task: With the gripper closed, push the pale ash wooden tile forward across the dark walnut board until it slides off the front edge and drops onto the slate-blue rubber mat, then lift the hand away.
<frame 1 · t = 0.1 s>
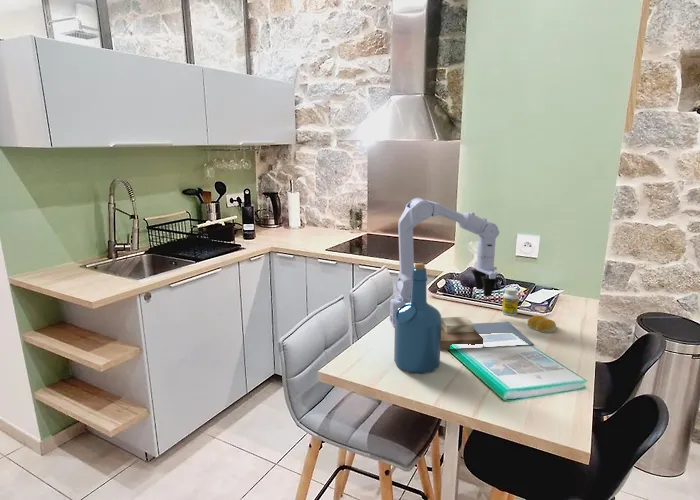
hand: (483, 292, 160), 10 cm above the table, tool pointing down, fingers open, 7 cm apart
tile: (456, 328, 147), point 3 cm above the table, touching board
bread roll: (541, 328, 154), on the table
wine bottle: (416, 364, 129), on the table
mat: (497, 334, 149), on the table
board: (451, 336, 147), on the table
supplement bottle: (509, 313, 167), on the table
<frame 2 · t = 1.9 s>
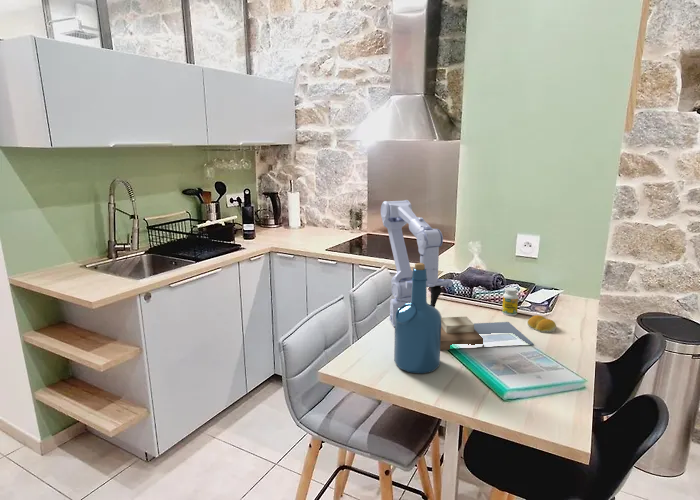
hand: (428, 308, 144), 10 cm above the table, tool pointing down, fingers closed
nothing on the table moved.
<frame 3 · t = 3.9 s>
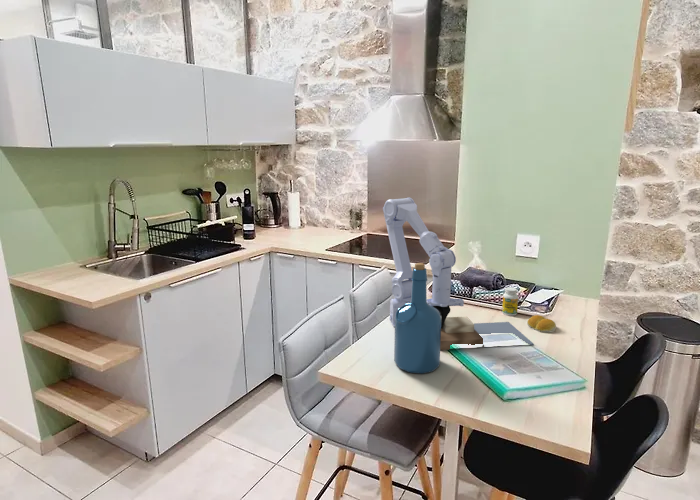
hand: (439, 327, 146), 4 cm above the table, tool pointing down, fingers closed
tile: (456, 328, 147), point 3 cm above the table, touching board, gripper
everything else where it was.
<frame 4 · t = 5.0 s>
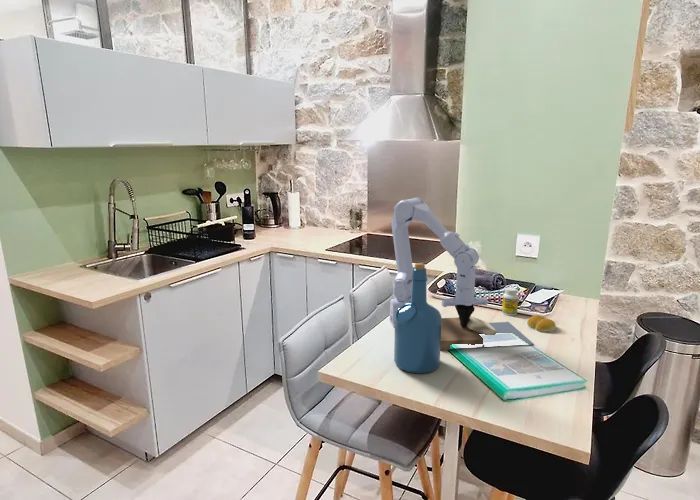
hand: (463, 326, 147), 4 cm above the table, tool pointing down, fingers closed
tile: (477, 328, 148), point 2 cm above the table, tilted 23°, touching gripper
everything else where it was.
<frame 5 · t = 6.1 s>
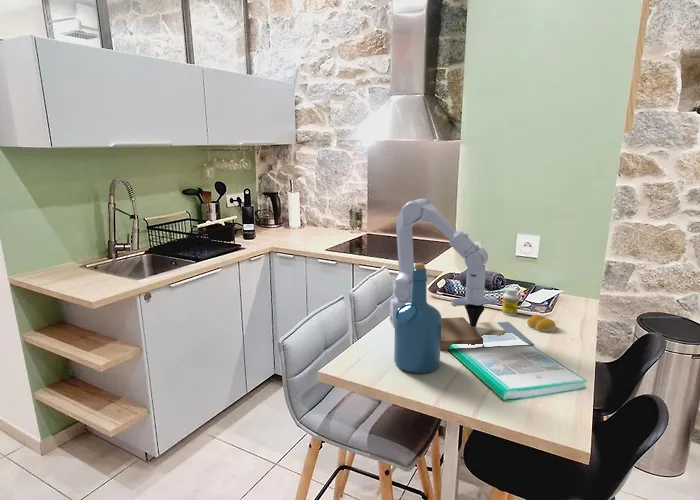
hand: (472, 325, 147), 4 cm above the table, tool pointing down, fingers closed
tile: (486, 333, 149), resting on mat
everything else where it was.
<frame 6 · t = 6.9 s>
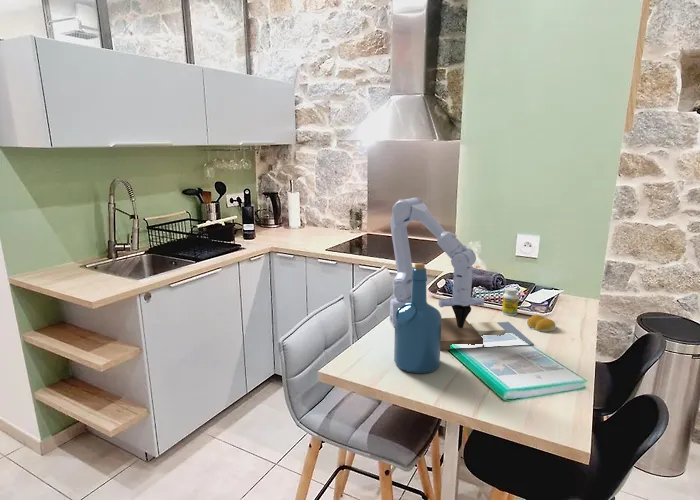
hand: (460, 326, 147), 4 cm above the table, tool pointing down, fingers closed
nothing on the table moved.
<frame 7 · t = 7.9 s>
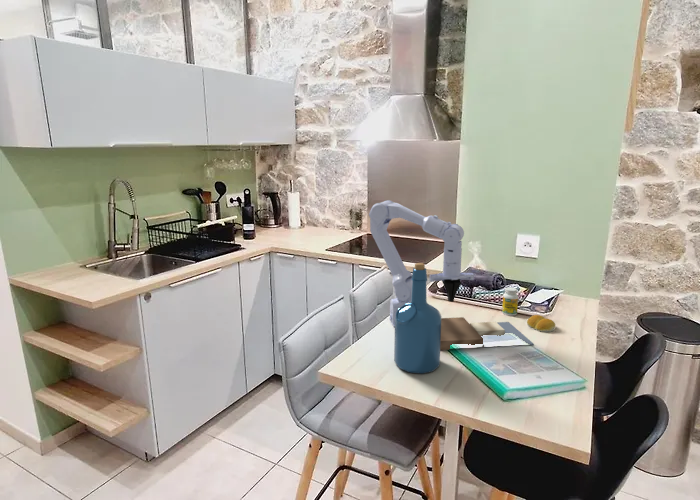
hand: (450, 300, 151), 10 cm above the table, tool pointing down, fingers closed
nothing on the table moved.
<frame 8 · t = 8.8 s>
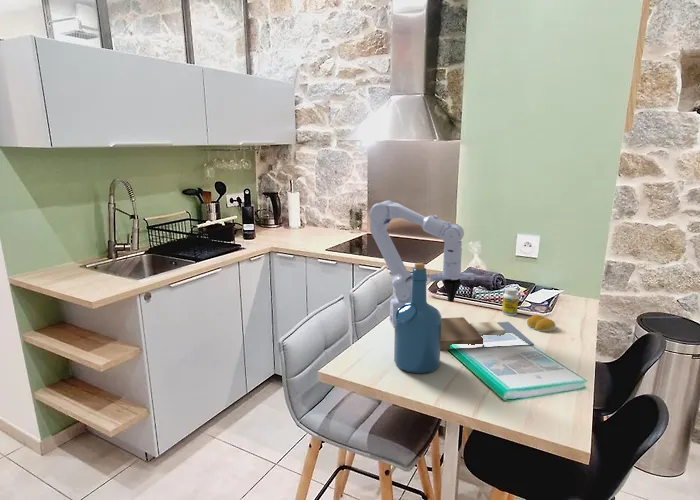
hand: (450, 300, 151), 10 cm above the table, tool pointing down, fingers closed
nothing on the table moved.
at the end: tile inside the target area (4.0 cm from its centre), point 0.5 cm above the table; tile touching mat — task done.
